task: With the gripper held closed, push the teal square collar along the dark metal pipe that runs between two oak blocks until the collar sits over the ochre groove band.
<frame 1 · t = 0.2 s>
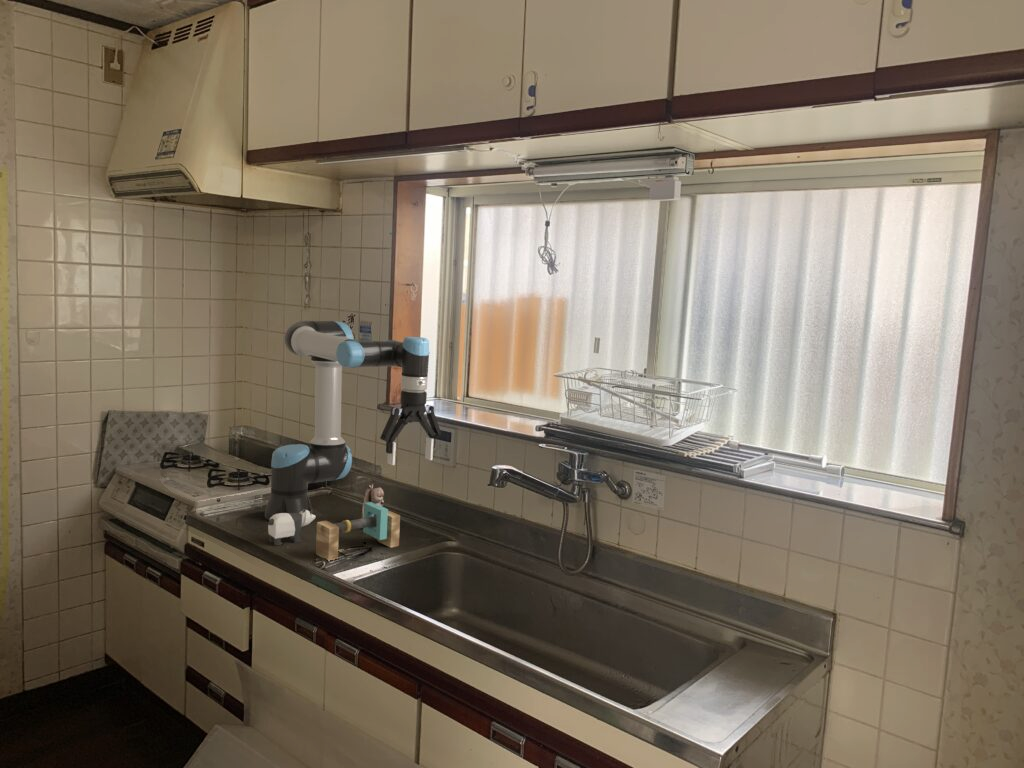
hand: (410, 461, 228), 27 cm above the counter, tool pointing down, fingers open, 13 cm apart
toy: (375, 527, 252), on the counter
giant panda: (289, 541, 233), on the counter
collar: (375, 520, 232), point 8 cm above the counter, slide at 0.0 cm
pipe stand: (358, 550, 229), on the counter
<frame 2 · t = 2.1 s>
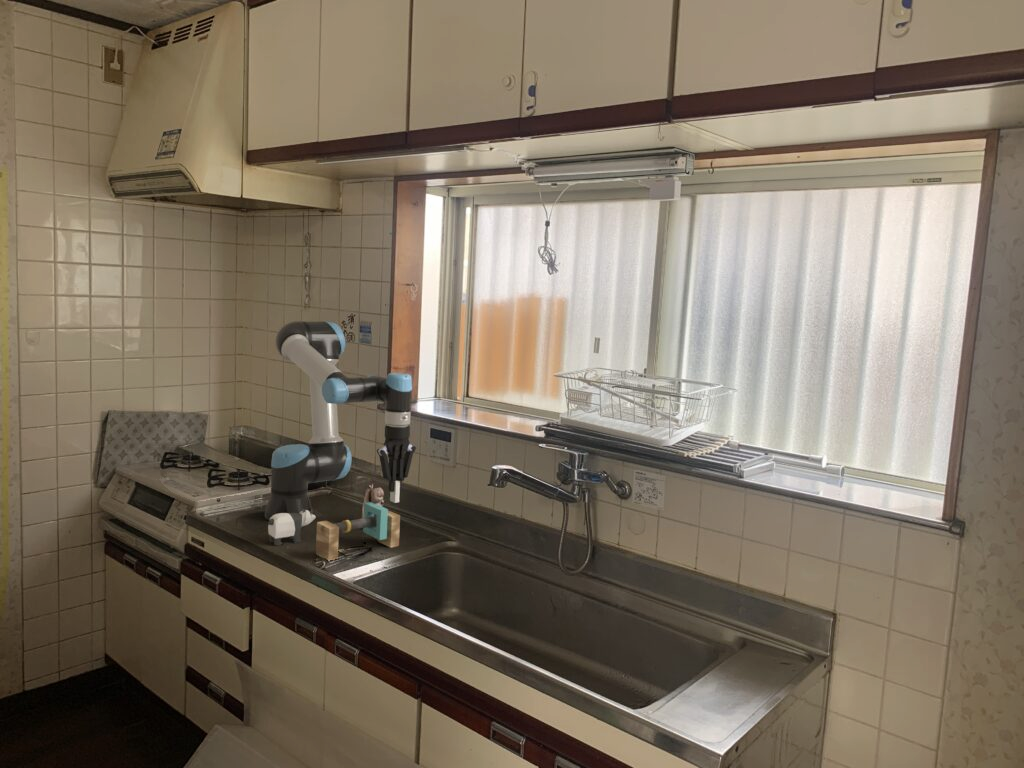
hand: (394, 501, 235), 13 cm above the counter, tool pointing down, fingers closed
nothing on the counter moved.
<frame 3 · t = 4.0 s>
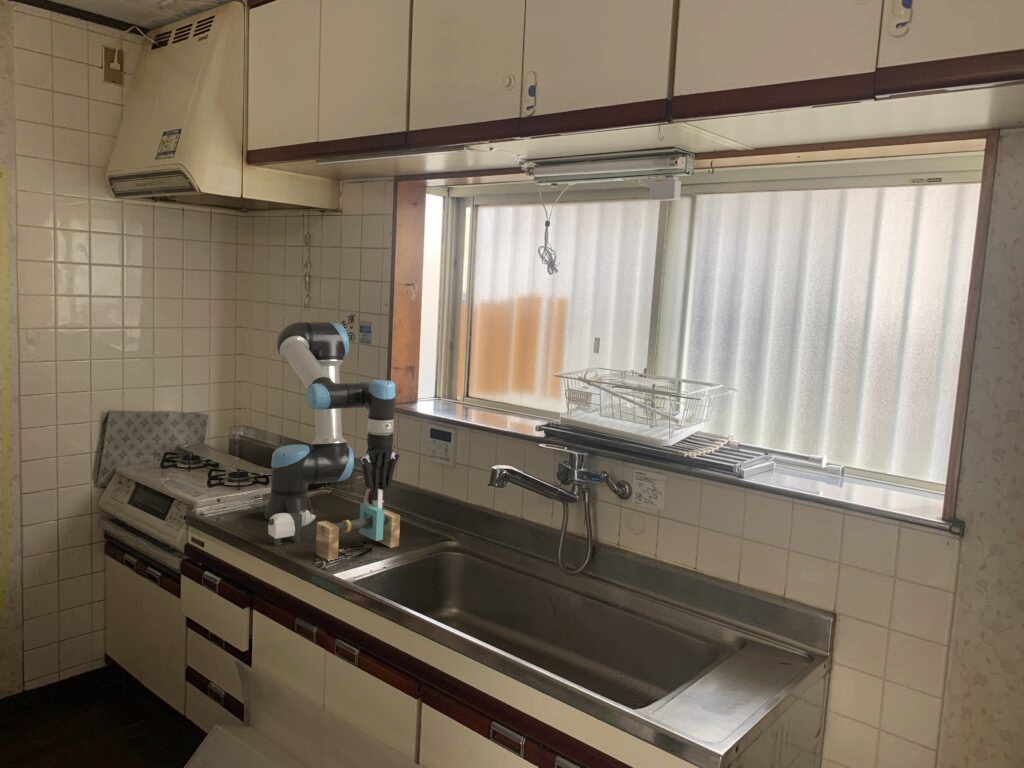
hand: (377, 510, 232), 11 cm above the counter, tool pointing down, fingers closed
collar: (371, 521, 231), point 8 cm above the counter, slide at 1.4 cm, touching gripper
everything else where it was.
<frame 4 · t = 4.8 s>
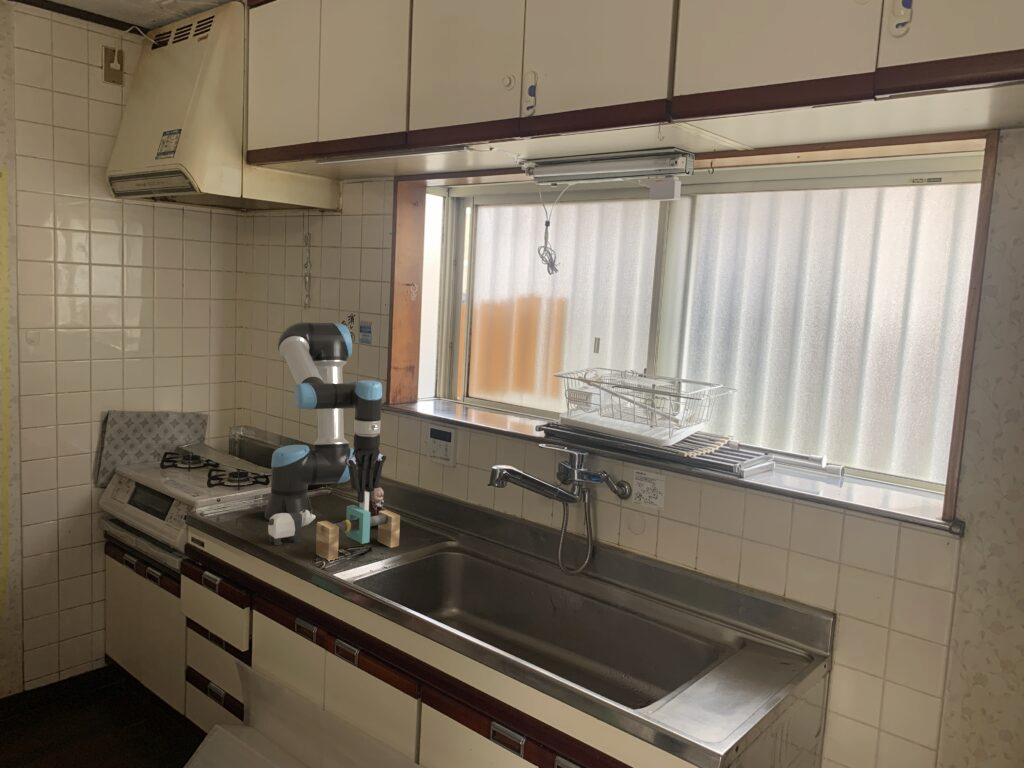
hand: (363, 512, 228), 11 cm above the counter, tool pointing down, fingers closed
collar: (357, 524, 227), point 8 cm above the counter, slide at 6.0 cm, touching gripper
everything else where it was.
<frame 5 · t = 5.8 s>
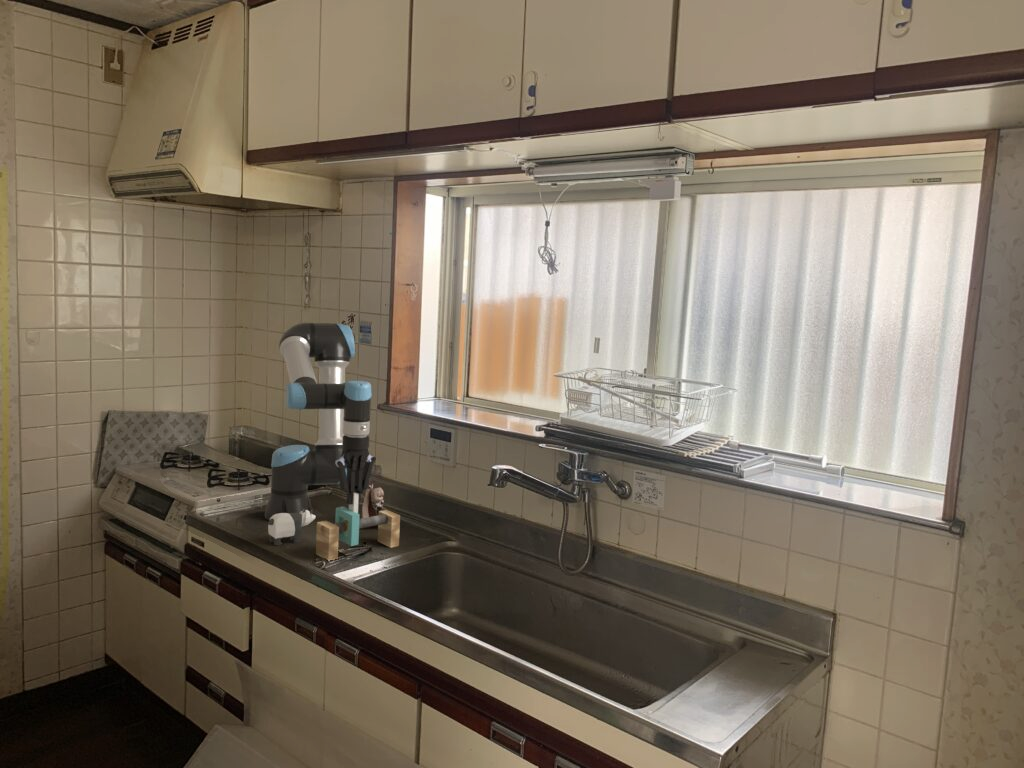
hand: (353, 514, 226), 11 cm above the counter, tool pointing down, fingers closed
collar: (346, 526, 225), point 8 cm above the counter, slide at 9.7 cm, touching gripper
everything else where it was.
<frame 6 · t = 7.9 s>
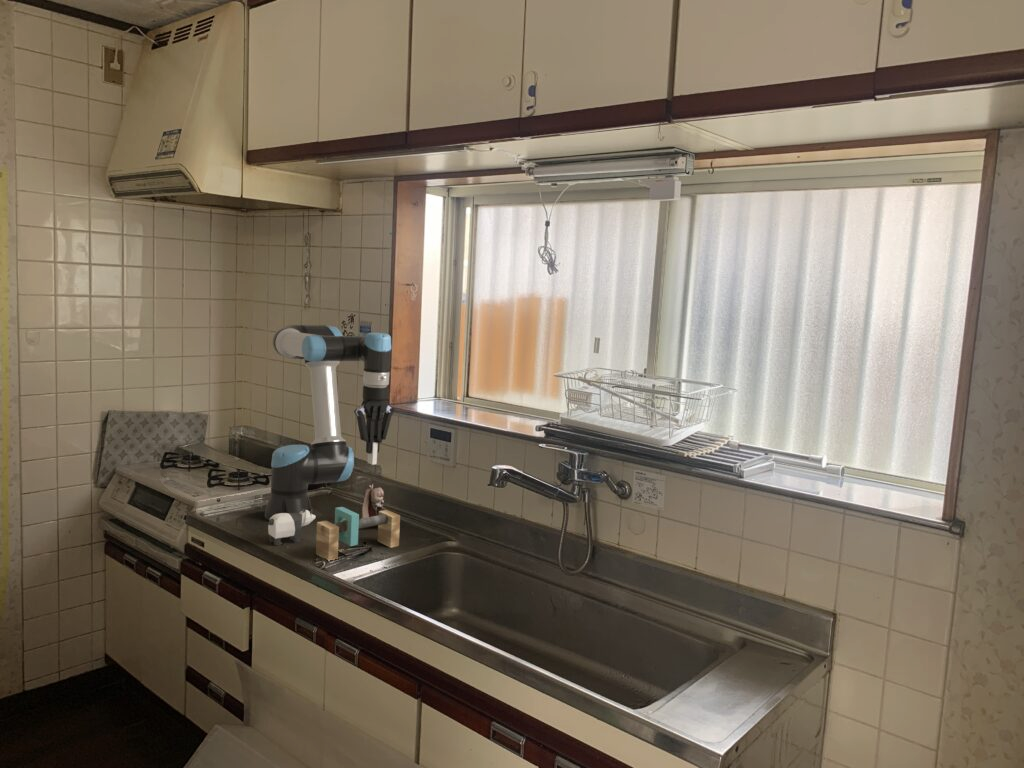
hand: (372, 463, 232), 25 cm above the counter, tool pointing down, fingers closed
collar: (346, 526, 225), point 8 cm above the counter, slide at 9.9 cm
everything else where it was.
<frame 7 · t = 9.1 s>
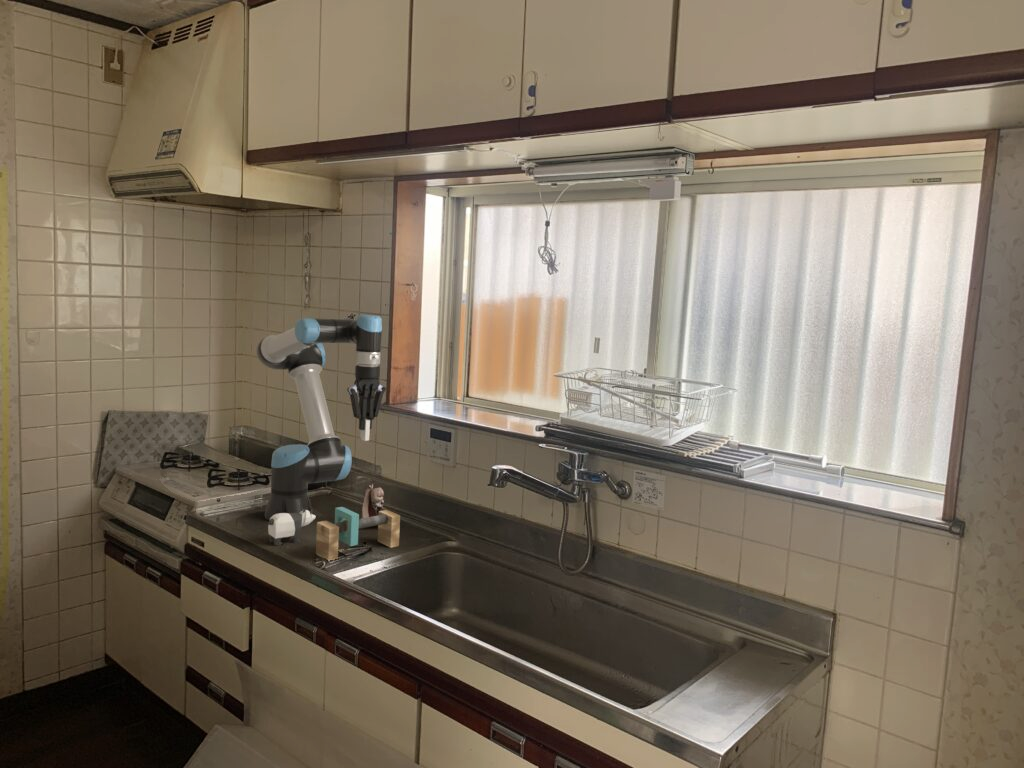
hand: (364, 439, 243), 29 cm above the counter, tool pointing down, fingers closed
nothing on the counter moved.
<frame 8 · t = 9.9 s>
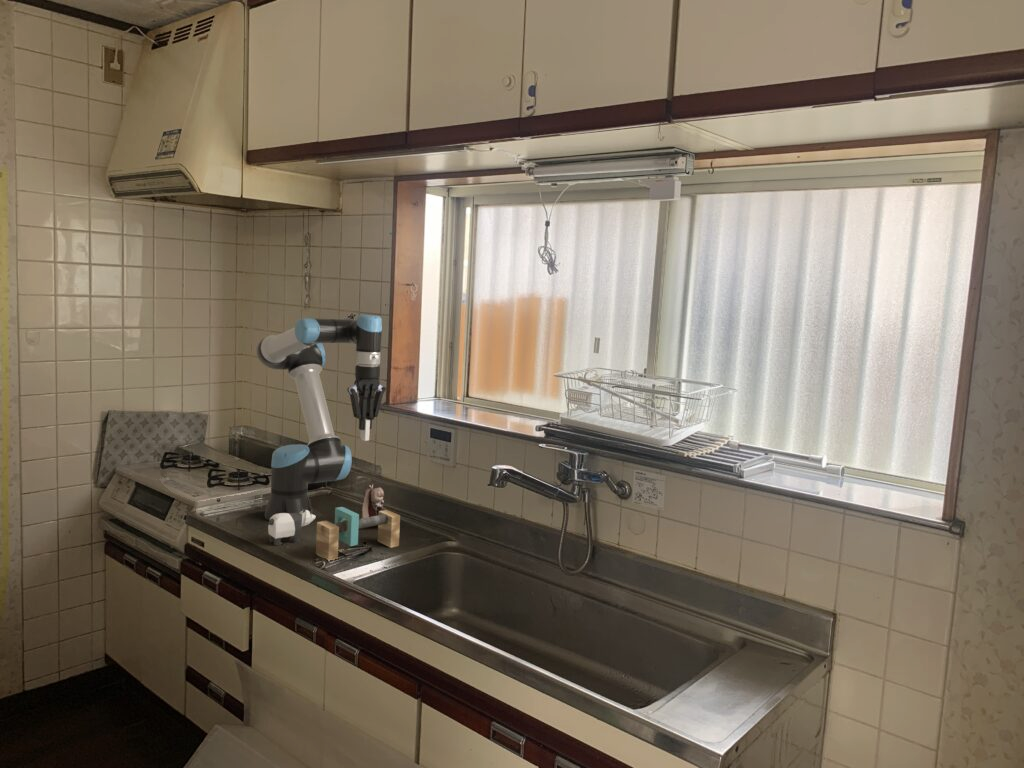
hand: (364, 439, 243), 29 cm above the counter, tool pointing down, fingers closed
nothing on the counter moved.
at the end: collar slide at 9.9 cm; collar 0.1 cm from the target spot on the pipe stand, point 8.0 cm above the pipe stand's base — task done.
